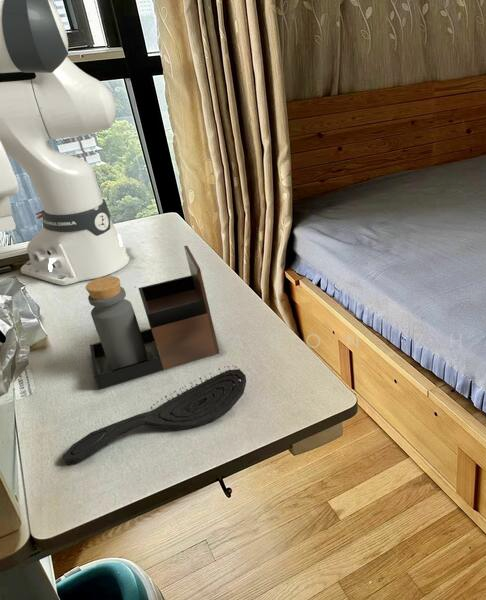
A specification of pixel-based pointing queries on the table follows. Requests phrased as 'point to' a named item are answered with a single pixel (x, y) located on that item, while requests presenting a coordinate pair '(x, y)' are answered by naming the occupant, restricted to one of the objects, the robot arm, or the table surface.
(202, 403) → the hairbrush
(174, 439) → the table surface
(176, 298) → the bottle rack
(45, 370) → the table surface
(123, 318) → the bottle
